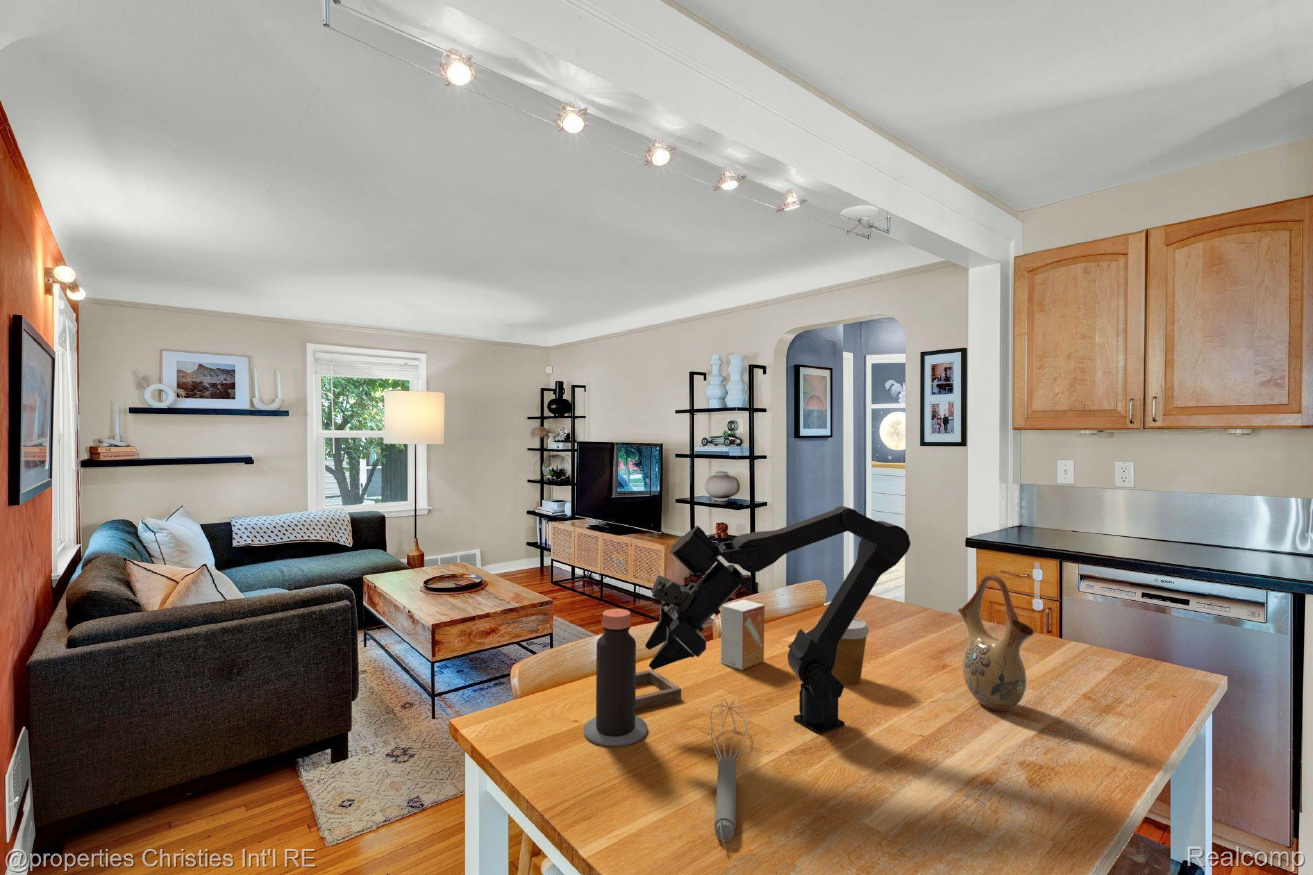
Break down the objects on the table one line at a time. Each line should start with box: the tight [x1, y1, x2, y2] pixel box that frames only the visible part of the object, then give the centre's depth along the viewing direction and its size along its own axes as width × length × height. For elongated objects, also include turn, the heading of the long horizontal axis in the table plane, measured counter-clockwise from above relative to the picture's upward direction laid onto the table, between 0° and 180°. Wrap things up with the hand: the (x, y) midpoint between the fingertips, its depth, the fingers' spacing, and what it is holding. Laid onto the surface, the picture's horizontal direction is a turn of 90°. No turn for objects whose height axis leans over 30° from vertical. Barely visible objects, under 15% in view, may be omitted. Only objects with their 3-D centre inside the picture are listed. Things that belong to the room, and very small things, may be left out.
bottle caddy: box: [635, 669, 682, 711], centre depth 123 cm, size 11×11×2 cm
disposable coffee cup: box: [831, 617, 870, 686], centre depth 131 cm, size 10×10×12 cm
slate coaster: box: [583, 715, 648, 748], centre depth 108 cm, size 11×11×1 cm
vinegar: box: [595, 608, 637, 736], centre depth 107 cm, size 7×7×20 cm
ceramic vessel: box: [957, 574, 1035, 712], centre depth 118 cm, size 16×9×25 cm, turn 17°
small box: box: [720, 599, 766, 671], centre depth 140 cm, size 8×6×13 cm
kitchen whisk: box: [710, 698, 748, 850], centre depth 93 cm, size 6×34×6 cm, turn 172°
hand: (648, 657), depth 108 cm, fingers open, 9 cm apart
